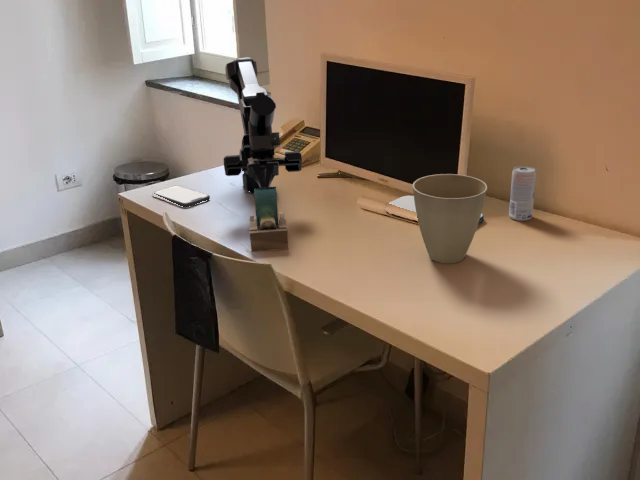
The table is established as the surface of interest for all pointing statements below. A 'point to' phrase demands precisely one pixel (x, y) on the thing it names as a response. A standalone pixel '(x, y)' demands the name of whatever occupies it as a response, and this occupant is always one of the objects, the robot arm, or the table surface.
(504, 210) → the table surface
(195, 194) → the phone case
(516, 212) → the energy drink
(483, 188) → the plant pot
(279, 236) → the walnut track with socket
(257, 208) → the teal upright block
